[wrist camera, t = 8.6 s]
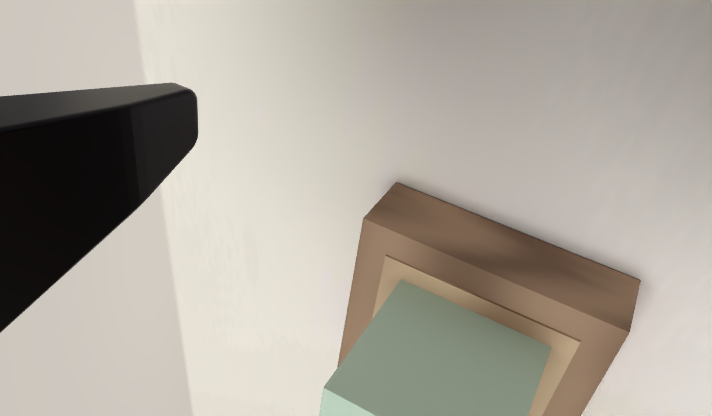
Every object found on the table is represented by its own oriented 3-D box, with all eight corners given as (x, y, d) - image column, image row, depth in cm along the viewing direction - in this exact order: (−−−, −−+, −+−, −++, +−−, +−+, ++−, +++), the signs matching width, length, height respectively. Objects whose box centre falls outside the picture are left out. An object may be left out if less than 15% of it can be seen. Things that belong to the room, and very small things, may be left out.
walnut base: (640, 280, 23) (629, 334, 20) (553, 435, 29) (536, 490, 26) (396, 182, 26) (361, 219, 23) (363, 341, 32) (333, 383, 29)
